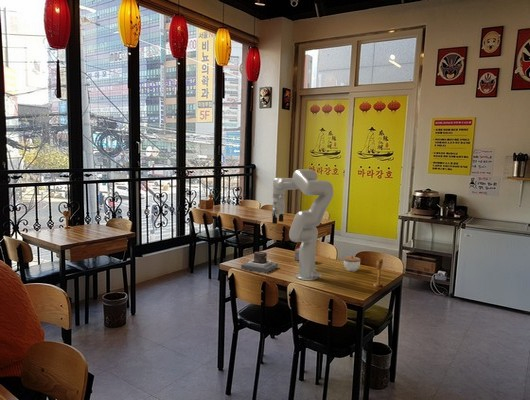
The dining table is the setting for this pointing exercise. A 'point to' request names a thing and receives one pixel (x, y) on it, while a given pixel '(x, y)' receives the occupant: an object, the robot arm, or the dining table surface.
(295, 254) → the food item
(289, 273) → the dining table surface
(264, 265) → the grey flat block
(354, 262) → the lidded jar
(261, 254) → the box
